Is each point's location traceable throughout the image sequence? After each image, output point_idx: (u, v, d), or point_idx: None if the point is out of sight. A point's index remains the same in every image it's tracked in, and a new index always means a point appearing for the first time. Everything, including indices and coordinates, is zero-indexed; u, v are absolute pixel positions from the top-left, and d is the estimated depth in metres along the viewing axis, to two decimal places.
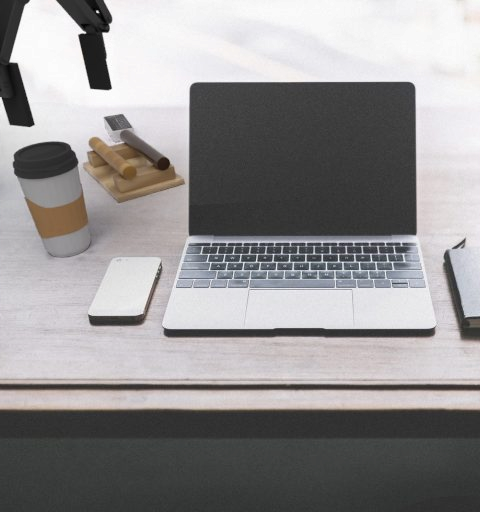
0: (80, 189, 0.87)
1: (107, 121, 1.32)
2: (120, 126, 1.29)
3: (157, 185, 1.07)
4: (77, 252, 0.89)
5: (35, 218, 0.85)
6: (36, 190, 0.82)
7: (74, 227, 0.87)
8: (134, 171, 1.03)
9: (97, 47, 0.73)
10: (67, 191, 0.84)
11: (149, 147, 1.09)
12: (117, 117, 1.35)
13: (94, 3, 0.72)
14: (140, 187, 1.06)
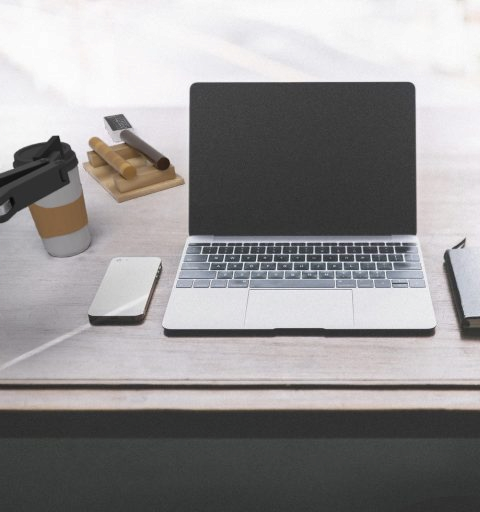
0: (80, 189, 0.87)
1: (107, 121, 1.32)
2: (120, 126, 1.29)
3: (157, 185, 1.07)
4: (77, 252, 0.89)
5: (35, 218, 0.85)
6: None
7: (74, 227, 0.87)
8: (134, 171, 1.03)
9: None
10: (67, 191, 0.84)
11: (149, 147, 1.09)
12: (117, 117, 1.35)
13: None
14: (140, 187, 1.06)
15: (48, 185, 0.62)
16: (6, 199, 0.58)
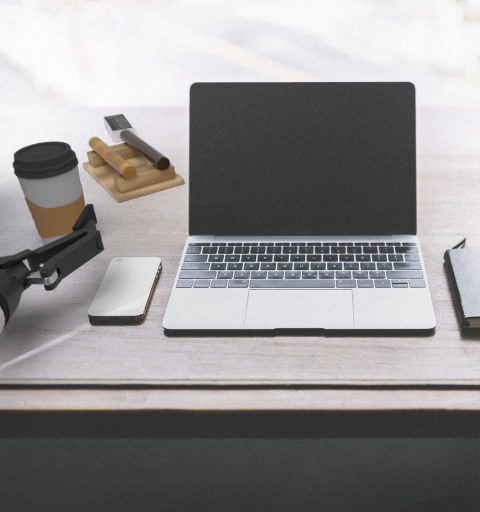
0: (80, 189, 0.87)
1: (107, 121, 1.32)
2: (120, 126, 1.29)
3: (157, 185, 1.07)
4: None
5: (35, 218, 0.85)
6: (36, 191, 0.82)
7: None
8: (134, 171, 1.03)
9: None
10: (67, 191, 0.84)
11: (149, 147, 1.09)
12: (117, 117, 1.35)
13: None
14: (140, 187, 1.06)
15: (87, 254, 0.73)
16: (54, 271, 0.69)
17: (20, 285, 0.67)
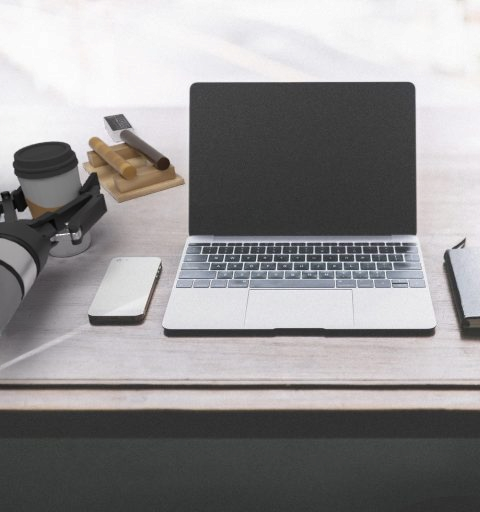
0: None
1: (107, 121, 1.32)
2: (120, 126, 1.29)
3: (157, 185, 1.07)
4: (77, 252, 0.89)
5: (35, 218, 0.85)
6: (36, 190, 0.82)
7: None
8: (134, 171, 1.03)
9: None
10: (67, 191, 0.84)
11: (149, 147, 1.09)
12: (117, 117, 1.35)
13: None
14: (140, 187, 1.06)
15: (97, 214, 0.82)
16: (79, 227, 0.77)
17: (49, 243, 0.75)
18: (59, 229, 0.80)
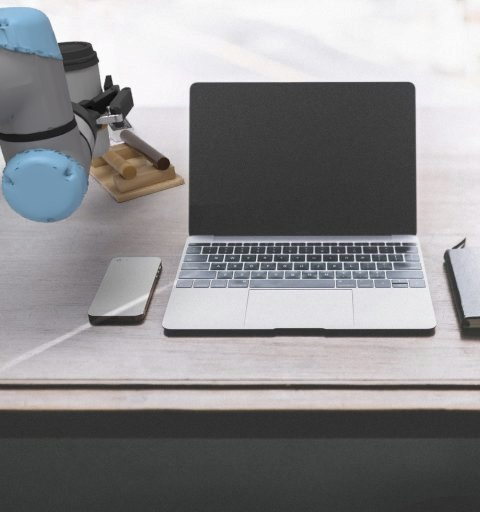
0: (101, 88, 0.87)
1: None
2: None
3: (157, 185, 1.07)
4: (101, 154, 0.90)
5: None
6: None
7: None
8: (134, 171, 1.03)
9: None
10: (93, 86, 0.85)
11: (149, 147, 1.09)
12: None
13: None
14: (140, 187, 1.06)
15: (128, 104, 0.84)
16: None
17: (96, 123, 0.76)
18: None
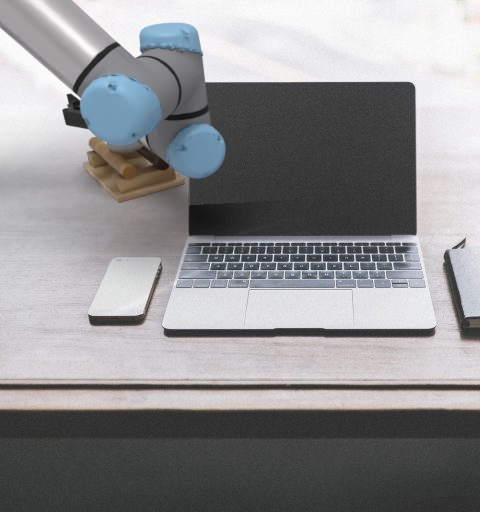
0: None
1: None
2: None
3: (157, 185, 1.07)
4: (141, 146, 1.09)
5: None
6: None
7: None
8: (134, 171, 1.03)
9: None
10: None
11: None
12: None
13: None
14: (140, 187, 1.06)
15: None
16: None
17: None
18: None
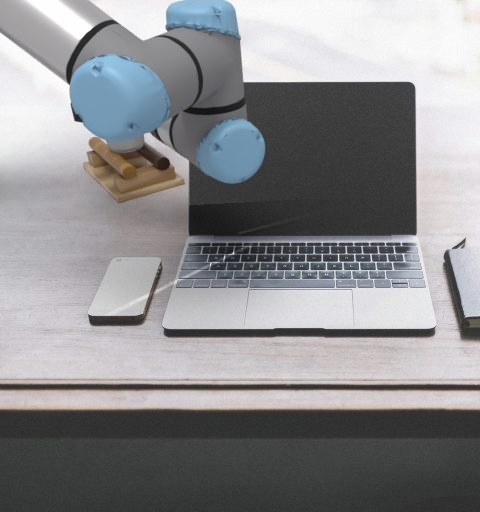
0: None
1: None
2: None
3: (157, 185, 1.07)
4: (141, 146, 1.09)
5: None
6: None
7: None
8: (134, 171, 1.03)
9: None
10: None
11: (149, 147, 1.09)
12: None
13: None
14: (140, 187, 1.06)
15: None
16: None
17: None
18: None
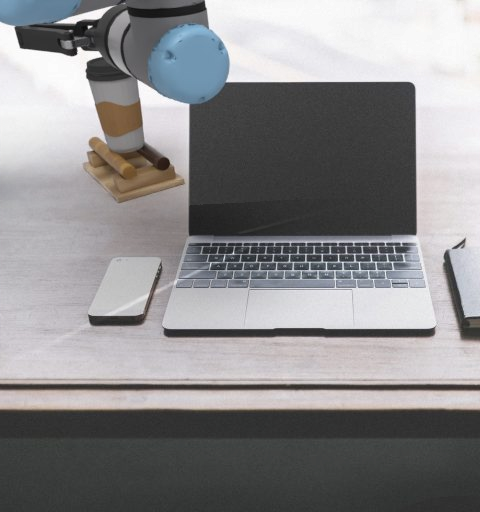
0: None
1: None
2: None
3: (157, 185, 1.07)
4: (141, 146, 1.09)
5: (111, 118, 1.04)
6: (118, 91, 1.01)
7: (140, 123, 1.07)
8: (134, 171, 1.03)
9: None
10: (137, 90, 1.05)
11: (149, 147, 1.09)
12: None
13: None
14: (140, 187, 1.06)
15: None
16: None
17: None
18: None
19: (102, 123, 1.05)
